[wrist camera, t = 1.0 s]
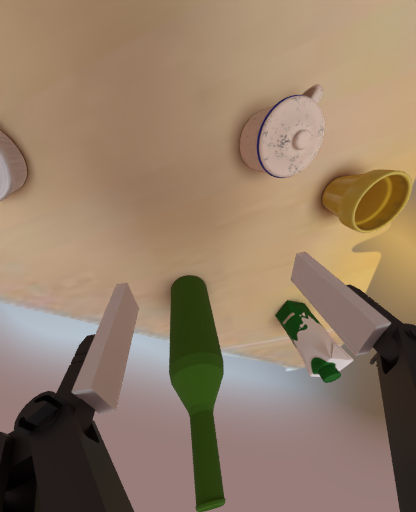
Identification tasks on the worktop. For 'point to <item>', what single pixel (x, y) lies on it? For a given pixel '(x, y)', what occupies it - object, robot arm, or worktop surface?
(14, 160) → the ramekin
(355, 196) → the plant pot
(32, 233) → the worktop surface
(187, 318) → the wine bottle
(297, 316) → the milk carton
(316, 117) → the teacup with lid
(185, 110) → the worktop surface
